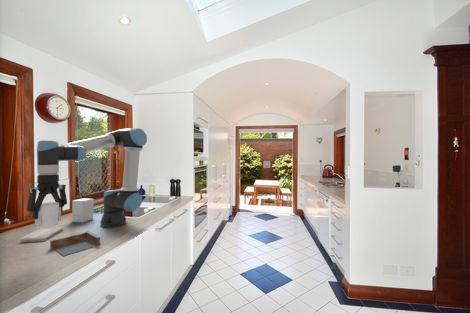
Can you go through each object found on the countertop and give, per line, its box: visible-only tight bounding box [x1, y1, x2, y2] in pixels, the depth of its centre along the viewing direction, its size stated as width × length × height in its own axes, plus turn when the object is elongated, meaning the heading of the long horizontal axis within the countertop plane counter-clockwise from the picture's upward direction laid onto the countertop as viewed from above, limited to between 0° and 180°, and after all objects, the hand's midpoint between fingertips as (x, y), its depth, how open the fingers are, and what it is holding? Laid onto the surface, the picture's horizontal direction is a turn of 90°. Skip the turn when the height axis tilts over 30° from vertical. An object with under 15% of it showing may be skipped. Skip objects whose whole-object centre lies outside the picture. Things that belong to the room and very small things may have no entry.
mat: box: [54, 240, 93, 257], centre depth 105 cm, size 12×12×1 cm
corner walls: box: [49, 230, 101, 250], centre depth 107 cm, size 16×14×4 cm
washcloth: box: [19, 226, 64, 243], centre depth 121 cm, size 12×18×3 cm, turn 13°
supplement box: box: [71, 198, 94, 223], centre depth 151 cm, size 9×9×15 cm
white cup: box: [38, 201, 59, 229], centre depth 99 cm, size 8×8×10 cm
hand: (48, 223), depth 99 cm, fingers closed on white cup, 7 cm apart
